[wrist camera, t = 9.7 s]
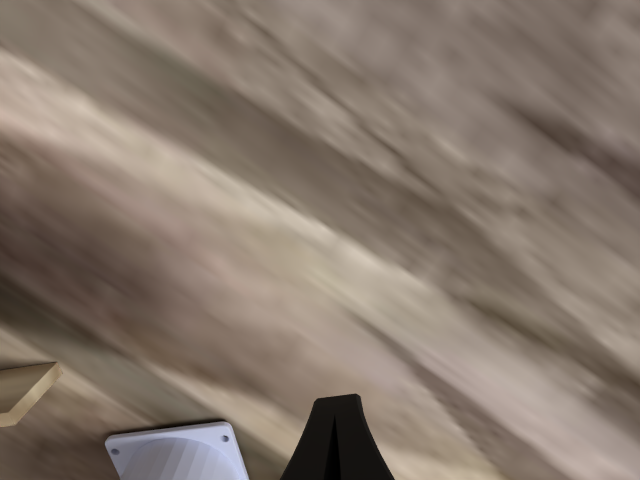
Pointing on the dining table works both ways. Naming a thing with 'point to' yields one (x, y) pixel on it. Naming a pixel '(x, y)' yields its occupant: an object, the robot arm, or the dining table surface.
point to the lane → (24, 389)
